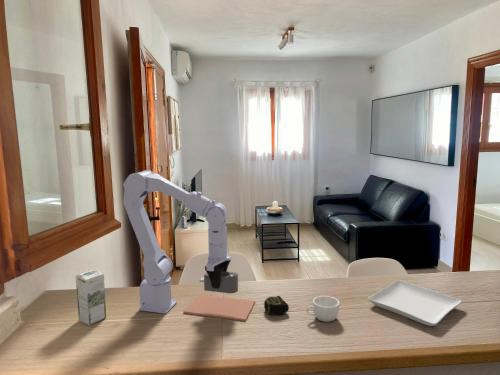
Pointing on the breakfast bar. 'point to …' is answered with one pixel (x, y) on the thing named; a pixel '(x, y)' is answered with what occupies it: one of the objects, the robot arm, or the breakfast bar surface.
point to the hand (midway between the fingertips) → (218, 284)
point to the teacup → (325, 308)
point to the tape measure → (275, 305)
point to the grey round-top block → (222, 283)
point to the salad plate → (414, 302)
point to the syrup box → (91, 297)
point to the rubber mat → (220, 307)
